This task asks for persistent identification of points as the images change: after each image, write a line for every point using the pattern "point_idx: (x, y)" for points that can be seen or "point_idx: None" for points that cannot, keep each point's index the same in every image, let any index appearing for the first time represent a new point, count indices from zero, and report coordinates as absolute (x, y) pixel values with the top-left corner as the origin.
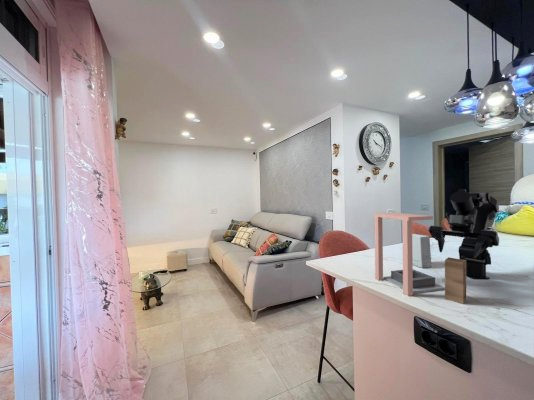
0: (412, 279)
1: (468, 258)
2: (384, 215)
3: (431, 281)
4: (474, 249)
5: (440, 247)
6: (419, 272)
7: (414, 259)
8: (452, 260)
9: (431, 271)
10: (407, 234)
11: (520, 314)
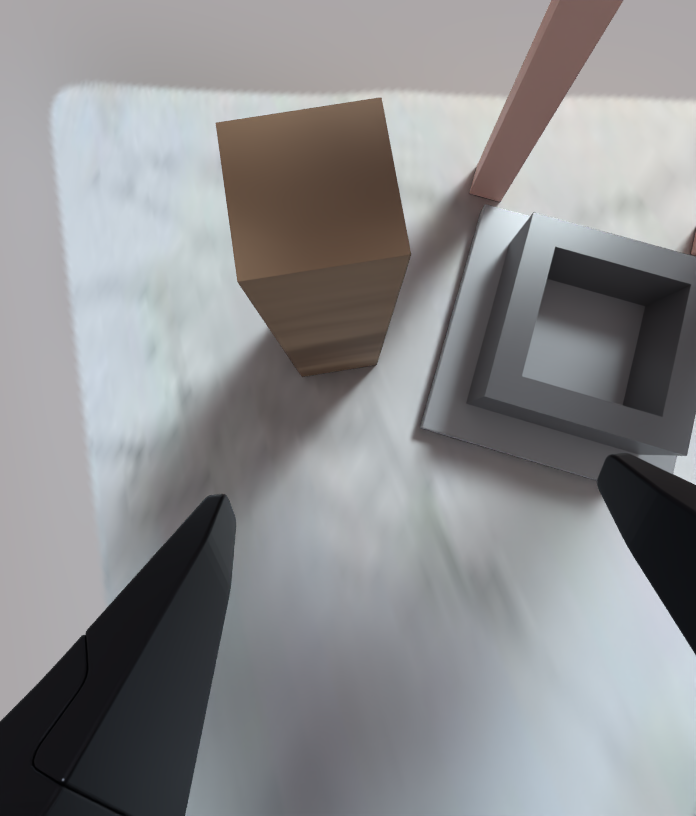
0: (506, 115)
1: None
2: None
3: (484, 368)
4: (178, 584)
5: (668, 485)
6: (604, 416)
7: None
8: (324, 144)
9: (644, 738)
10: None
11: (111, 410)
